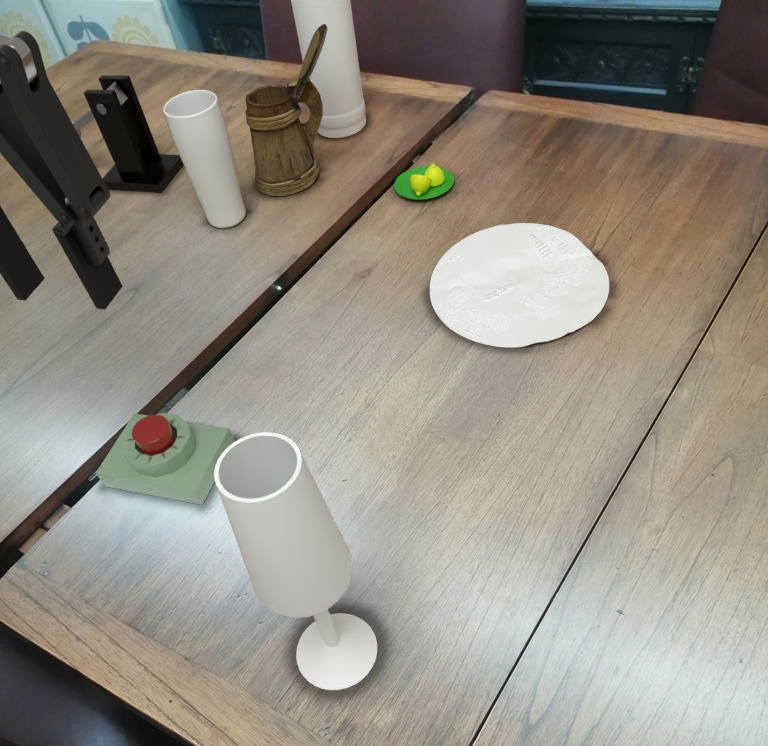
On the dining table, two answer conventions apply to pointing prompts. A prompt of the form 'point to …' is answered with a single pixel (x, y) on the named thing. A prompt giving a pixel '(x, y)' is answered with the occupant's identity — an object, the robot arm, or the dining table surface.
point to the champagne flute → (294, 554)
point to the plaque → (518, 285)
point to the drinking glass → (206, 154)
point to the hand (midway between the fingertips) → (69, 292)
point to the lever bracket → (129, 140)
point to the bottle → (333, 64)
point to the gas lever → (89, 116)
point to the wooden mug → (286, 128)
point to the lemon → (424, 182)
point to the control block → (167, 461)
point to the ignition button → (153, 434)
